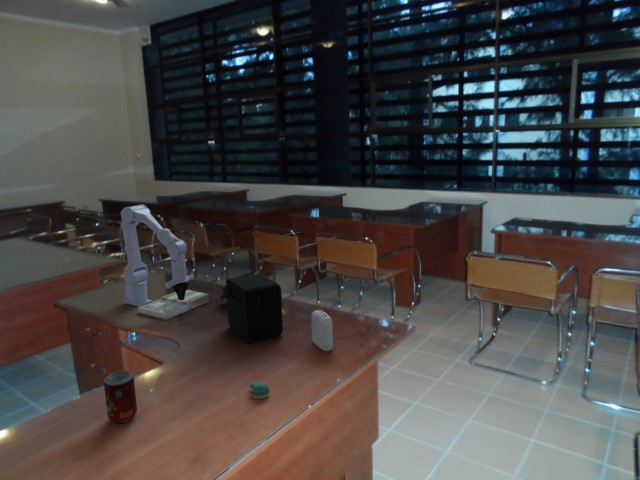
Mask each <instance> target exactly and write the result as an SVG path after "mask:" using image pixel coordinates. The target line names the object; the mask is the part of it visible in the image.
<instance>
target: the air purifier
mask: <svg viewBox="0 0 640 480" xmlns="http://www.w3.org/2000/svg"><path fill="white" fill-rule="evenodd" d="M225 286H226V288H227V299H226V302H227V304H226V305H227V316H228V317H227V318H228V320H227V321H228V325H229V328H230V330H232V331H233V332H234V333H235V334H236V335H237V336H238V337H239V338H241V340H243V342H245V343H246V344H250V343H254V342H258V341H264V340H267V339H271V338H275V337H279V336H281V335H282V334H283V330H284V321H283V317H284V316H283V299H282V298H283V296H282V295H283V293H282V287H281V285H280V284H279V283H278V282H276V281H275V280H272V279H271V278H269V277H267V276H265V275H264V274H262V273H258V272H257V273H254V274H252V275H246V276H240V277H237V276H235V277H230V278H227V279H226V281H225Z"/></svg>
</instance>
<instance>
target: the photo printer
mask: <svg viewBox="0 0 640 480" xmlns="http://www.w3.org/2000/svg"><path fill="white" fill-rule="evenodd" d="M333 339H334V335H333V320H332V317H330V315H328V313H326V312H325V311H323V310H320V309H317V310H313V311H312V313H311V340H312V343H313V344H314V345H316V346H317V347H318V348H319V349H321V350H322V351H325V352H329V351H332V349H333V347H334V341H333Z"/></svg>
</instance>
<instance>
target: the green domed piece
mask: <svg viewBox="0 0 640 480" xmlns="http://www.w3.org/2000/svg"><path fill="white" fill-rule="evenodd" d="M249 388H251V389H250V390H249V391H248V393H249V394H250V395H252V396H253V398H255V399H257V400H261V399H265V398H267V397H268V396H269V395H270V388H269V385H268V384H266V383H264V382H254V383H251V384H250V385H249Z"/></svg>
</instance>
